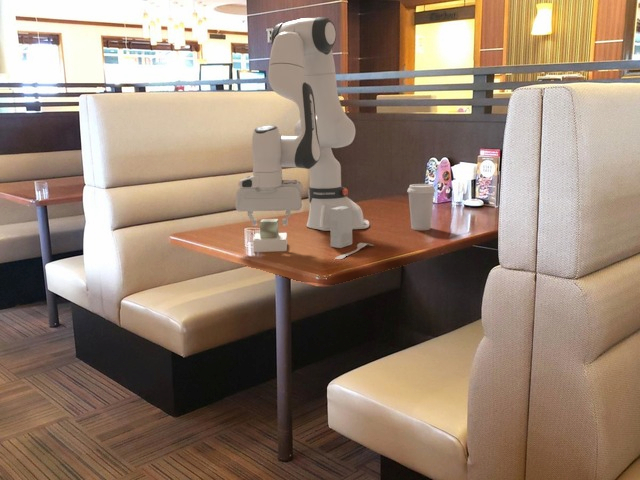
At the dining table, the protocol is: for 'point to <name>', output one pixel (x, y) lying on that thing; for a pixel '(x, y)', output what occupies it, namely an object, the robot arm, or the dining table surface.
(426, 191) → the coffee cup
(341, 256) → the fork
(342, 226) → the skincare box
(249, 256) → the dining table surface
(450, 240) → the dining table surface
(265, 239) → the painted block
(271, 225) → the sage cube
